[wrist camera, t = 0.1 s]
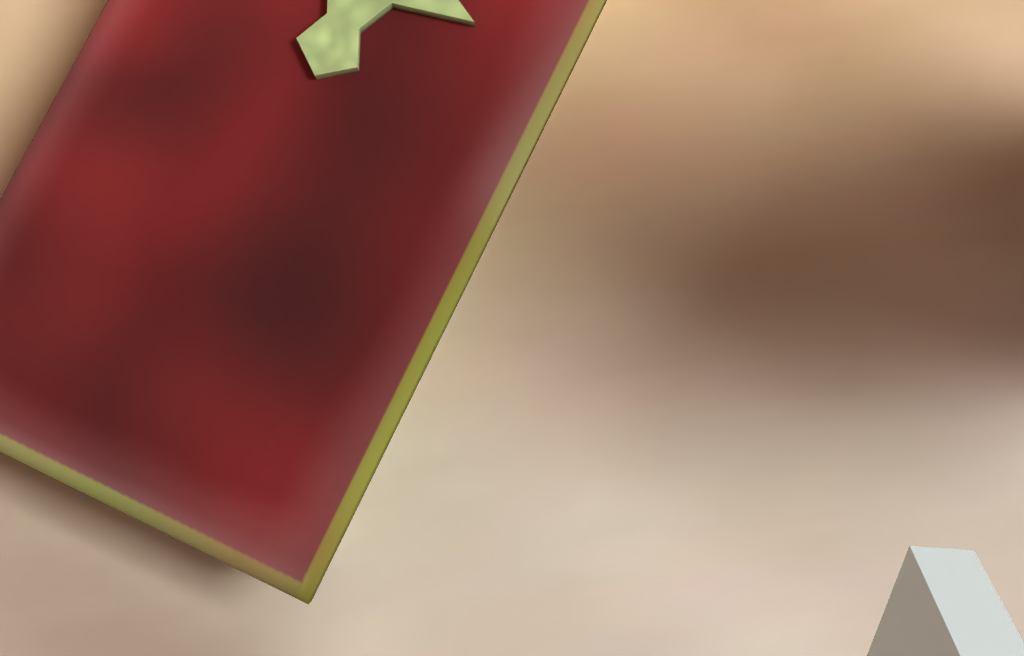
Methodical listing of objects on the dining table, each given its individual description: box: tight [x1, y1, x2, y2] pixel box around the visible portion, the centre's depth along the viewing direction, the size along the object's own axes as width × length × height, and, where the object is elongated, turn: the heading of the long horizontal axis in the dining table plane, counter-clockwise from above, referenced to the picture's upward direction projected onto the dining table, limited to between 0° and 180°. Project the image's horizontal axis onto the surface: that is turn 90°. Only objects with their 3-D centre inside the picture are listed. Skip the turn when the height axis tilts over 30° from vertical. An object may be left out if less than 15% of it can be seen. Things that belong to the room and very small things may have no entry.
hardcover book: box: [0, 0, 607, 604], centre depth 26 cm, size 12×21×4 cm, turn 154°
